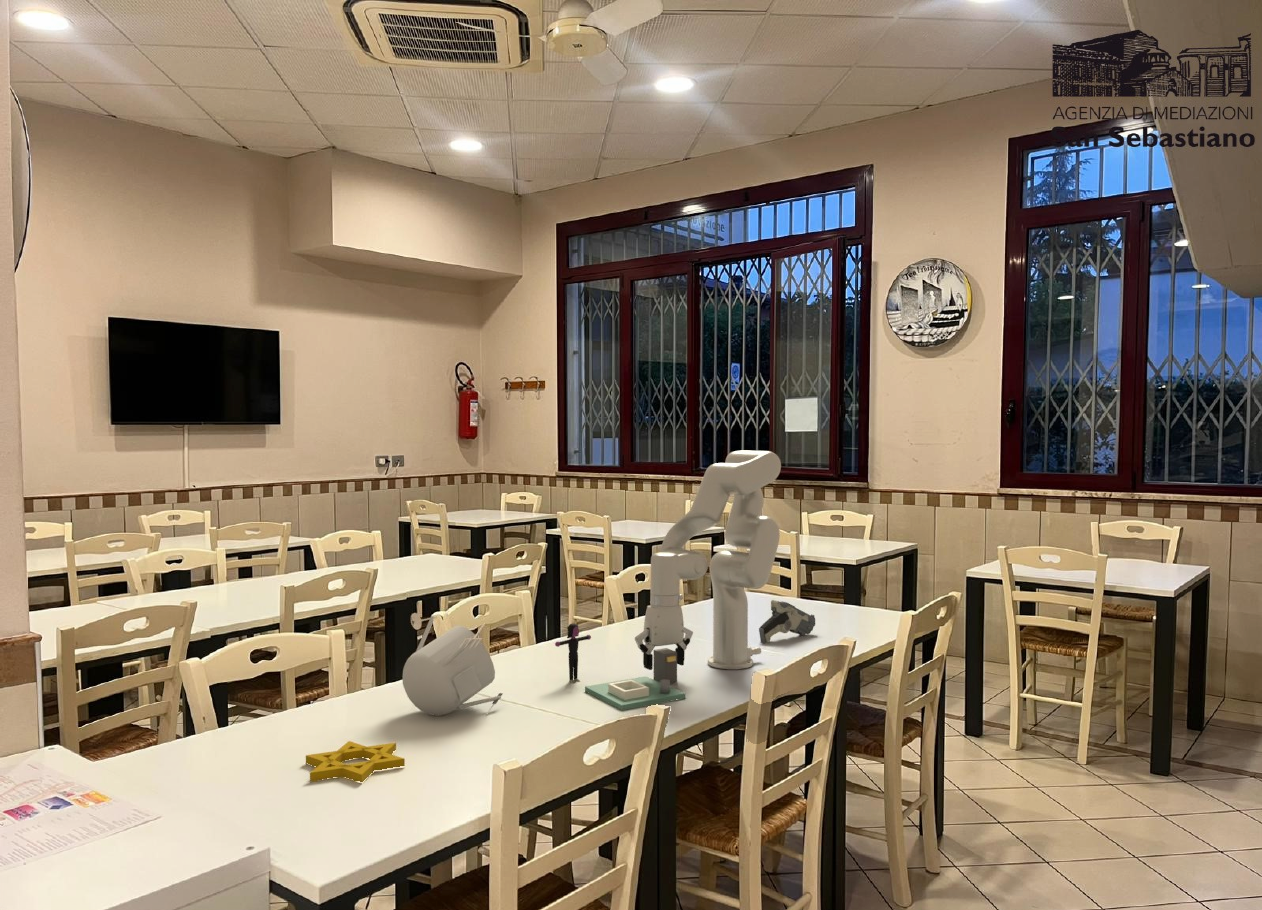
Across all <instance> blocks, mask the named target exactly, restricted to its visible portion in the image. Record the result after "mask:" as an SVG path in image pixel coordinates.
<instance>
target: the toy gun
mask: <svg viewBox="0 0 1262 910" xmlns="http://www.w3.org/2000/svg"><path fill="white" fill-rule="evenodd" d="M770 610H771V611H772V612H771V616H770V617H769V618H768V619H767V620H766V621H764V623H762V624H761V625H760V627H759V628H758V632H759V633H758V634H759V639H760V643H763V644H767V643H770V642H771V638H772V637H773V636H775V635H776V634H778V633H782V634H787V633H788V632H790V633H793V634H797V635H800V636H803V637H805V636H806V635H809V634H811V632H813V630H814V628H815V626H816V618H815V615H814V614H808V613H806V612H805V611H803V610H801V609H800V608H797V607H796V606H795V605H792V604H791V603H789V602H786V601H779V600H775V599H772V600H771V601H770Z"/></svg>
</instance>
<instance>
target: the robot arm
mask: <svg viewBox="0 0 1262 910" xmlns="http://www.w3.org/2000/svg"><path fill="white" fill-rule="evenodd" d="M781 468H782V463H781V459H780V457H779V455H778V454H776V453H774V452H773V451H770V450H735V451H731V452H729V454H727V456H726V458H725V462H718V463H717V462H716V463H713V464H710V465H709V466H708V467H707V468H706V470H705V472H704V475H703V477H702V479H701V482H700V484H699V487H698V490H697V492H696V495H695V497H694V499H693V502H692V505H691V507H690V508H689V511H687V513H686V514H684V515H683V516H681V517H680V519H678V520H677V522H675V523H674V525H672V526H671V527H670V529H669V530H668V531H667V533H666V534H665V537H664V539H663V541H662V544H661V546H660V548H659V551H658V552H655V553H653V554H652V555H651V557H650V592H649V593H650V598H649V599H650V601H649V603H650V605H647V606H646V611H645V615H644V622H643V623H644V624H643V631H642V632H640V633H639V634H637V635H636V636H635V637H634V641H635V643H636V645H637V648H638V649H639V650H640V652H641V653H642V656H643V657H642V658H643V659H642V663H643V668H644V669H646V670H649V671H652V670H654V654H653V653H652V652H653V651H654V650H655V647H663V646H670V645H675V646H676V647H675V649H674V651H676V652H677V665H679V666H684V665H685V655H686V653H685V651H686V650H687V648H688V646H689V644H690V643H691V639H692V637H693V634H694V632H693V631H692V630H691V629H689V628H687V627H685V626H684V625H685V624H684V623H685V621H684V615H683V609H682V605H681V604H680V601H682V600H683V599H684V597H683V594H681V593H680V581H681V580H688V581H689V580H691V581H694V580H698V579H700V578H701V579H702V577H704V576H705V575H706V573H707V571H708V568H709V574H710V575H709V576H710V581H711V586H712V597H713V598H712V601H713V603H712V604H713V605H712V606H713V608H712V610H713V613H712V614H713V615H712V618H713V620H712V621H713V622H712V624H713V625H712V626H713V627H712V635H713V636H712V640H713V641H712V647H713V648H712V653H713V654H712V656H709V657H708V658H707V664H708V666H710V667H713V668H716V669H724V670H742V669H748V668H750V667H752V666H753V665H754V660H753V659H752V657H753V656H754V655H756V656H757V655H760V654H762V648H761V647H759V646H757V647H753V648H752V647H751V646H748V645H749V643H748V637H749V636H748V635H749V634H748V633H749V632H748V630H749V629H748V627H749V623H748V621H749V620H748V619H749V617H748V615H749V614H748V613H749V612H748V611H749V609H748V608H749V607H748V606H749V604H748V603H749V602H748V597H747V596H748V595H747V594H746V591H745V589H751V590H758V589H762V588H764V587H765V585H766V584H767V583H768V582H769V580H770V577H771V574H772V570H773V565H774V562H775V558H776V554H777V551H778V547H779V543H780V539H781V538H780V537H781V535H780V527H779V525H778V523H777V521H776V520H775V519H774V518H772V517H770V516H767V515H762V512H763V507H764V500H765V499H764V494H763V491H762V488H763V487H766V486H767V485H769V484H770V483H773V482H774V481H775V480H776V479H777V478H778V477H779V475H780V473H781ZM731 495H733V500H732V505H731V509H730V511H729V515H728V519H727V521H726V526H725V531H724V538H725V541H726V543H727V544H729V546H732V547H733V548H734V547H735V548H739V549H747V550H749V552H746V551H737V550H726V549H725V550H720V551H717V552H716V553H714V555H712V557H711V559H710V561H709V563H708V559H707V558H706V556H705V555H704V554H703V553H701V552H699V551H696V550H691V549H690V550H688V549H684V547H685V546H686V544H687V543H688V542H689V540H690V539H691V538H693V537H694V536H695V535H697V534H700V533H702V532H703V531H705V530H709V529H710V528H712V527H715V526H716V525H718V524H719V523H720V521H721V519H722V516H723V514H724V511H725V508H726V505H727V503H728V500H729V498H730V496H731ZM684 635H685V636H684ZM644 643H645V644H644Z"/></svg>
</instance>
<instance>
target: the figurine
mask: <svg viewBox="0 0 1262 910" xmlns="http://www.w3.org/2000/svg"><path fill="white" fill-rule="evenodd" d="M579 629H580V628H579V625H578V624H577V623H575V622H574V623H573V622H571V623H570V624H569V625H568V626H567V636H566V638H567V639H566V640H562V641H555V643H554V645H555V647H560V646H564V645H568V670H569V671H568V673H569V682H570V683H574V684H575V683H576V682H581V680H580V679H579V678H578V669H579V653H578V651H579V642H582V641H587V640H591V639H592V636H591V635H590V634H587V635H585V636H581V637H580V636H579V634H580V630H579Z"/></svg>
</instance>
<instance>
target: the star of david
mask: <svg viewBox="0 0 1262 910" xmlns="http://www.w3.org/2000/svg"><path fill="white" fill-rule="evenodd" d="M395 750H396V751H397V742H391V743H383V744H376V745H369V746H365V745H363V744H360V743H356V742H353V741H351V740H349V741H347V742H346V743H344V745H342V746H341V747H340V748H338V750H334V751H328V752H319V753H313V754H306V755H305V764H306V763H308V764H310V765H312V766H311V767H313V766H316V768H315V767H314V769H313V770H312V771H310V772H309V782H310V781H315V782H319V781H318V780H321V781H323V780H322V779H327V778H333V777H341V778H343V777H346V778H349V779H353V780H354V781H360V782H363V781H364V780H365V779H366V778H367V777H368V776H369V775H370V774H371V773H373V771H374V770H382V769H387V768H393V767H400V766H405V764H406V763H405V762H406V760H405V758H404V757H401V756H397V755H394V754H393V755H392V753H393V751H395ZM362 757H364V758H369V759H370V760H365V761H361V762H354V763H348V764H347V763H344V762H346V761H345V760H349V759H353V758H362ZM342 761H344V762H342ZM341 762H342V763H341ZM310 765H309V766H310ZM405 767H406V766H405ZM373 774H374V773H373ZM346 778H345V779H346ZM349 779H348V780H349ZM354 781H353V782H354Z"/></svg>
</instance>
